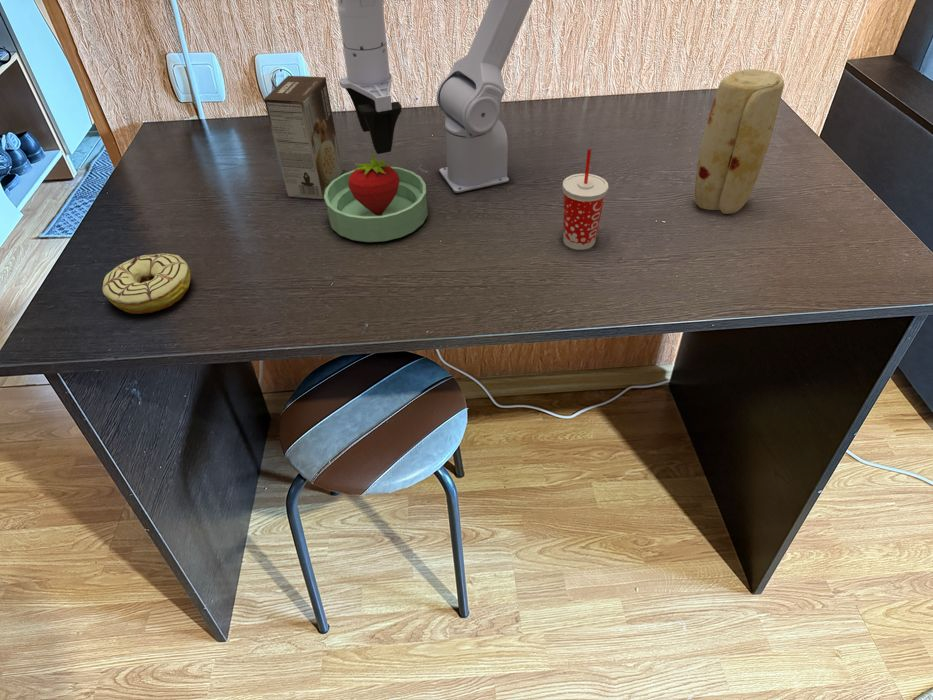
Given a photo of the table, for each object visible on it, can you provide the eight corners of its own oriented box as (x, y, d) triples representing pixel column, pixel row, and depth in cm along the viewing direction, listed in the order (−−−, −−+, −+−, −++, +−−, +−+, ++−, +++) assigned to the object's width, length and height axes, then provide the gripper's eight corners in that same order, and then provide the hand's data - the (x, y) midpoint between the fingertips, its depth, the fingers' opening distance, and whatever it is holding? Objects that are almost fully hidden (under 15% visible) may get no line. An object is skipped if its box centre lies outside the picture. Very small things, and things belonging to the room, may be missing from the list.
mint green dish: (410, 184, 106) (408, 158, 103) (441, 231, 96) (439, 204, 93) (320, 203, 102) (315, 177, 99) (341, 254, 92) (336, 227, 89)
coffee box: (307, 169, 110) (287, 73, 99) (343, 172, 109) (327, 76, 98) (286, 197, 104) (262, 98, 93) (324, 200, 103) (304, 100, 92)
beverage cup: (573, 257, 90) (583, 165, 81) (549, 236, 94) (556, 145, 85) (609, 245, 92) (623, 153, 83) (584, 224, 96) (595, 134, 87)
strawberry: (351, 207, 100) (341, 146, 93) (399, 200, 101) (393, 140, 95) (355, 228, 96) (345, 166, 89) (405, 220, 97) (399, 159, 90)
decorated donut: (145, 264, 92) (135, 241, 89) (210, 277, 89) (202, 254, 86) (93, 309, 84) (80, 286, 82) (161, 325, 82) (150, 302, 79)
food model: (737, 191, 102) (776, 60, 88) (759, 213, 97) (804, 78, 84) (679, 198, 101) (709, 67, 87) (698, 221, 96) (733, 86, 82)
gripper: (323, 30, 89) (338, 125, 99) (348, 66, 79) (362, 167, 89) (373, 23, 91) (383, 117, 100) (403, 57, 81) (411, 158, 91)
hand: (376, 140), depth 95 cm, fingers open, 7 cm apart
